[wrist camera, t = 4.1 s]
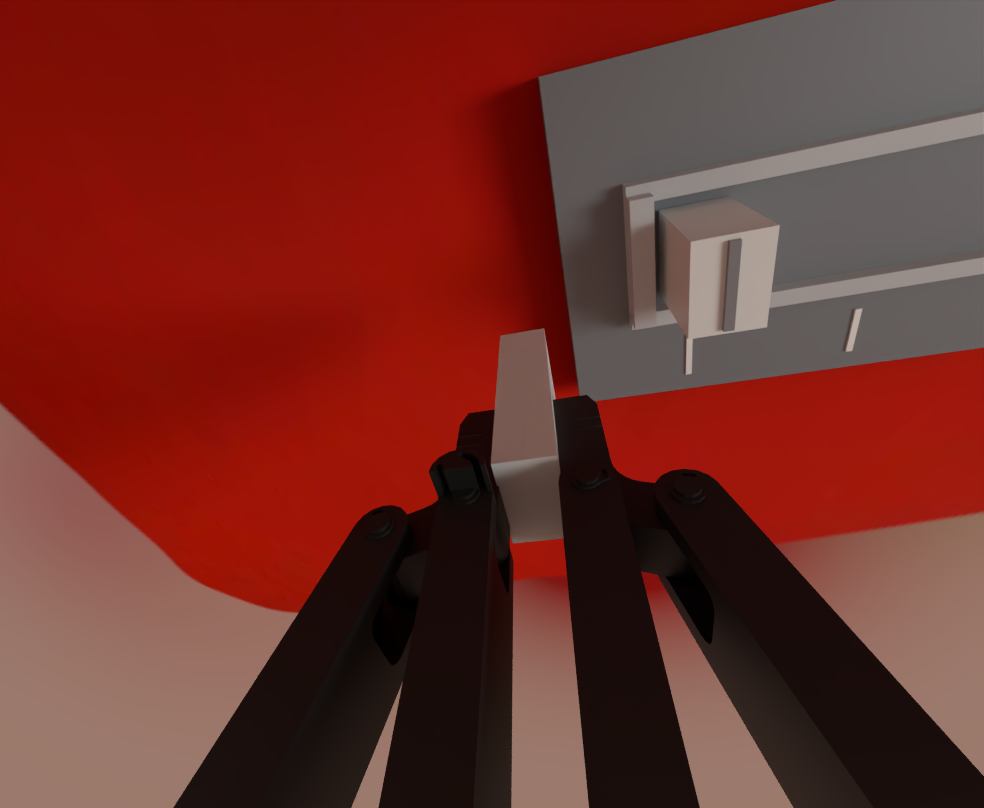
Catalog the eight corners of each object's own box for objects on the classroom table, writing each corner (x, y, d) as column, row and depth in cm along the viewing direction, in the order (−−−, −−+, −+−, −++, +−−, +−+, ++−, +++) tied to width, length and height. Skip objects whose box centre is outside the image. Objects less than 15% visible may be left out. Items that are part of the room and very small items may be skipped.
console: (537, 77, 21) (540, 76, 17) (1511, -174, 15) (1780, -243, 12) (577, 381, 29) (583, 419, 26) (1203, 290, 24) (1311, 323, 21)
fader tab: (658, 210, 21) (692, 243, 17) (728, 196, 21) (782, 226, 16) (659, 293, 23) (689, 341, 19) (723, 282, 23) (768, 329, 18)
